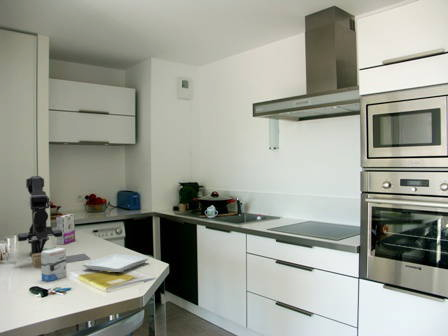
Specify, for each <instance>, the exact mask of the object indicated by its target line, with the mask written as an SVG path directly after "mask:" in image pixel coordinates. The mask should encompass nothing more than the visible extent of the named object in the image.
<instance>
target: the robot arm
mask: <svg viewBox="0 0 448 336" xmlns="http://www.w3.org/2000/svg"><path fill="white" fill-rule="evenodd" d="M25 181H26V182H25V187H26V189H27V192H28V193H29V195H30V196H29V207H30V210H31V217H32V218H31V223H32V224H31V225H30V227H29V229H28V230H29V231H27V232H21V233H18V234H16V235H17V237H16V238H17V242H25V241H27V244H28V245H30V248H31V252H29V254H30V256H32V254H36V253H41V252H42V251H43V248H45V244H46V242H48V241H49V240H50V236H51V237H55V238H57V237H61V236H62V231H61V230H59V229H58V230H57V229H53V226H48V225H47V222H48V219H49V214H48V212H47V210H46V209H50V207H51V201H50V197H49V196H48V195H47V193H46V191H44V187H45V178H43V177H42V176H40V175H36V176H35V175H32V176H30V177H29V178H27V179H26V180H25Z"/></svg>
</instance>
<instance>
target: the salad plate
mask: <svg viewBox="0 0 448 336" xmlns="http://www.w3.org/2000/svg"><path fill="white" fill-rule="evenodd" d="M148 260H149V257H147V256H140V255H132V254H119V253H113V254H109V255H107V256H104V257H103V256H102V257H101V258H97V259H94V260H90V261H87V262H85V263H82V267H84V268H86V269H89V270H92V271H95V270H100V271H99V272H102V271H111V272H120V273H122V272H121V271H123V272H125V271H124V270H126V269H128V270H131V269H134V268H135V267H138V266H140V265H142V264H144V263H146V262H147V261H148ZM126 271H127V270H126Z"/></svg>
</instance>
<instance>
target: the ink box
mask: <svg viewBox="0 0 448 336" xmlns="http://www.w3.org/2000/svg"><path fill="white" fill-rule="evenodd" d="M66 256H67V249H66V248H62V247H56V248H55V249H50V250H45V251H42V252H41V267H40V268H41V270H40V271H41V281H44V282H49V283H50V282H53V281H56V280H59V279H63V278H66V277H68V276H67V272H68V271H67V263H66Z"/></svg>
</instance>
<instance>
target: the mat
mask: <svg viewBox="0 0 448 336" xmlns="http://www.w3.org/2000/svg"><path fill="white" fill-rule="evenodd" d="M88 260H91V257H89V256H88V255H87V254H85V253H79V254H72V255H66V264H68V263H74V262H82V261H88Z"/></svg>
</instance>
